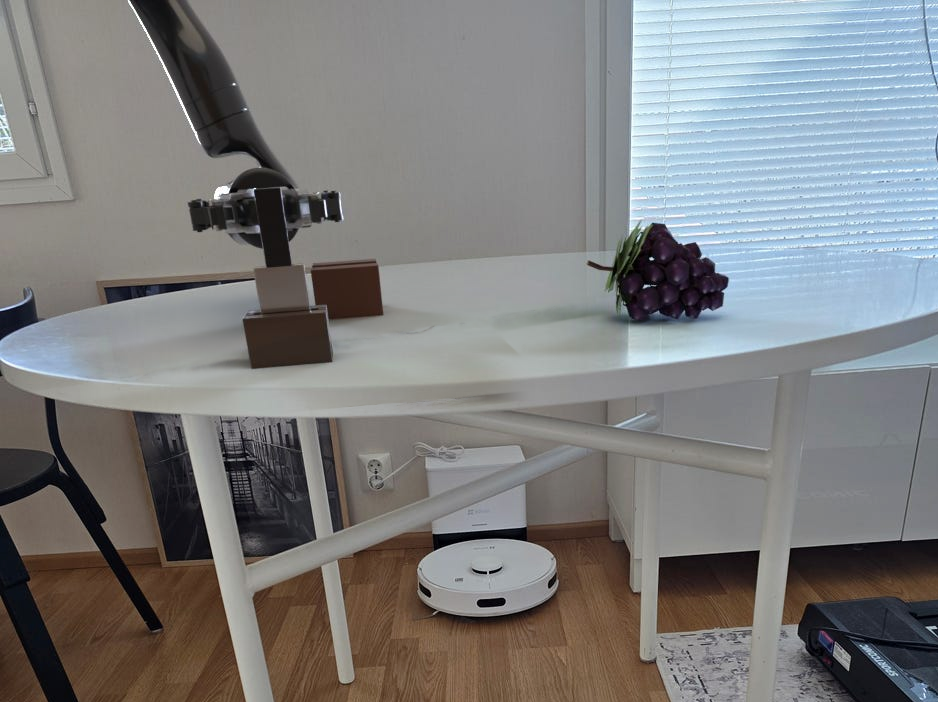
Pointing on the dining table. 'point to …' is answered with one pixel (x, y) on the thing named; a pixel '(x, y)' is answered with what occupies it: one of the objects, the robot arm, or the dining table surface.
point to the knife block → (288, 338)
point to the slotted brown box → (348, 288)
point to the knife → (277, 259)
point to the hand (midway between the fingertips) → (269, 212)
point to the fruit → (663, 276)
